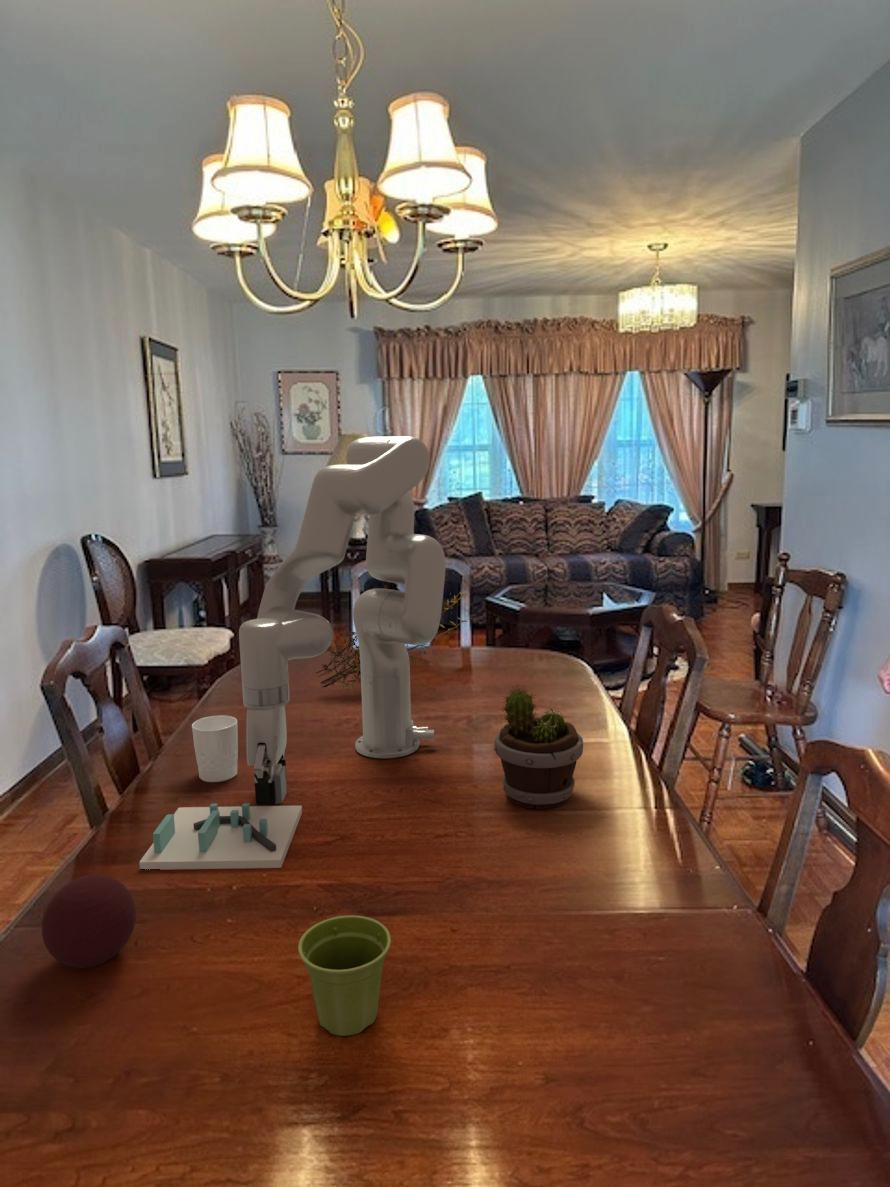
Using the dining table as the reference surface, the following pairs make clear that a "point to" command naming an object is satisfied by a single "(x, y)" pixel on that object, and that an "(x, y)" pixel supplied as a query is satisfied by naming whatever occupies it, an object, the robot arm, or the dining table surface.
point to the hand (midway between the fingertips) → (271, 792)
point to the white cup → (216, 747)
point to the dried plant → (359, 654)
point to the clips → (235, 821)
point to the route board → (226, 841)
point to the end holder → (168, 830)
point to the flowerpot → (536, 754)
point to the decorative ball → (88, 921)
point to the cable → (242, 821)
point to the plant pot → (345, 970)
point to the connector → (279, 781)
